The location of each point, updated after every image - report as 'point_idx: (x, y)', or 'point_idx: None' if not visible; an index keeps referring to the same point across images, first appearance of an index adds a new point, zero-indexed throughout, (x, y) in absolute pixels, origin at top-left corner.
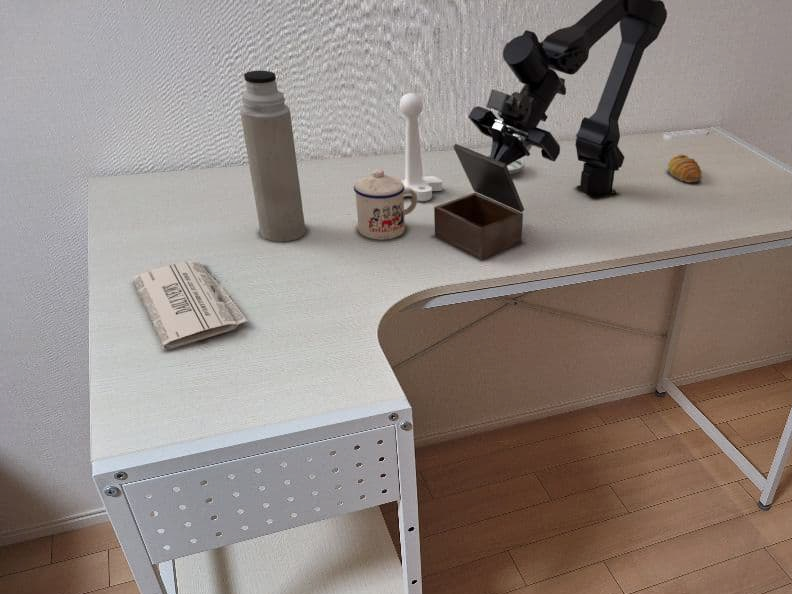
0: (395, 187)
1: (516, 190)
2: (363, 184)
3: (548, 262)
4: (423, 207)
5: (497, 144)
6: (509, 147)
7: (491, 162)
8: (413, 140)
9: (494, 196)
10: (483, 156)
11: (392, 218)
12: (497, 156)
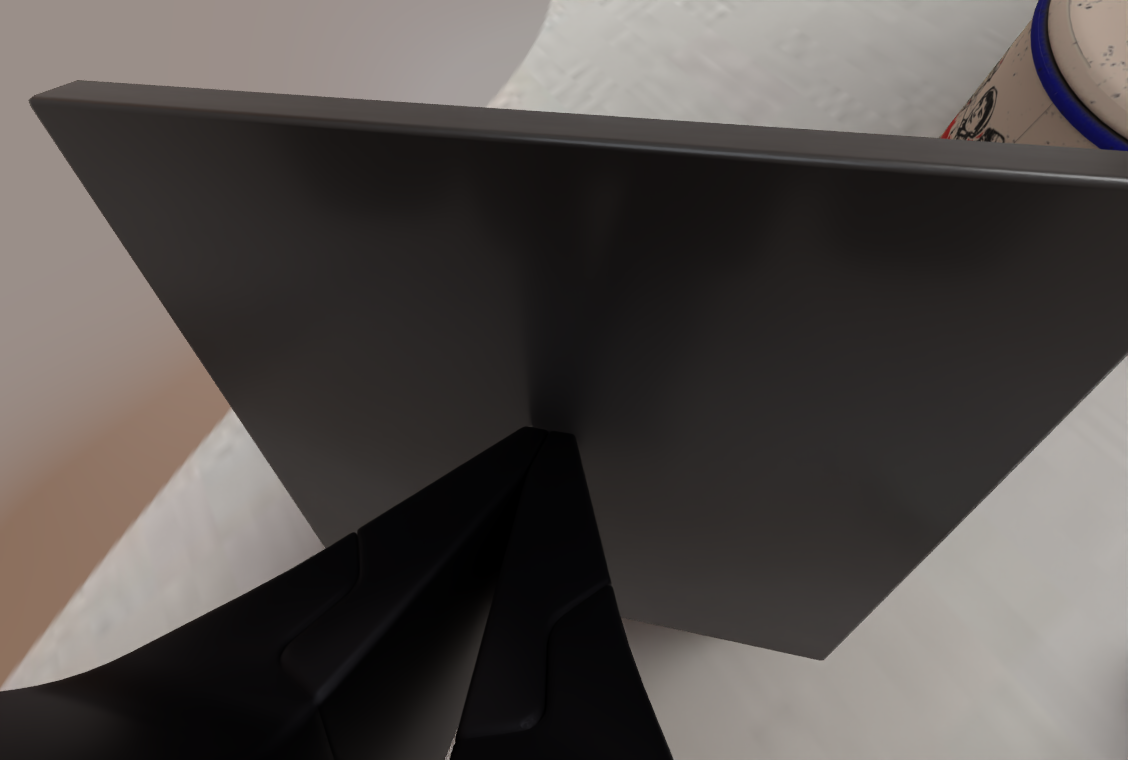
0: (1106, 34)
1: (252, 434)
2: None
3: (246, 456)
4: (1117, 579)
5: (485, 733)
6: (92, 672)
7: (279, 95)
8: None
9: None
10: (446, 114)
11: (950, 134)
12: (440, 530)
